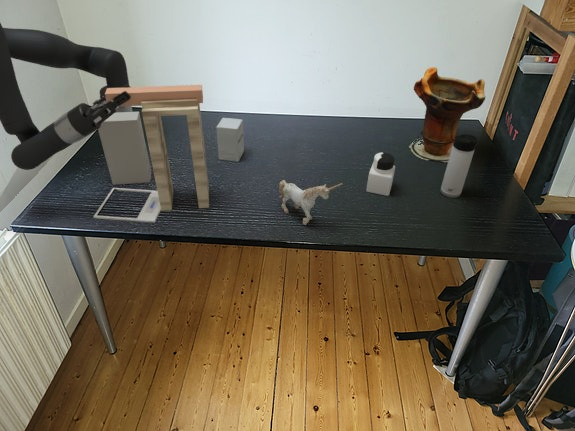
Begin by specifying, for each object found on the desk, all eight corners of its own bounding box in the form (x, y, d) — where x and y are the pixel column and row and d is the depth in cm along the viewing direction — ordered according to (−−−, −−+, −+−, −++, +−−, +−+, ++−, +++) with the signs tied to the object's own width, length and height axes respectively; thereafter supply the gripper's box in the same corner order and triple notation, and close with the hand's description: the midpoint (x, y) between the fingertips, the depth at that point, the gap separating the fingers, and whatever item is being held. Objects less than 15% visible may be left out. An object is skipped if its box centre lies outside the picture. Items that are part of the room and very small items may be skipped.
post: (115, 174, 150) (99, 113, 137) (151, 172, 152) (139, 111, 138) (112, 184, 146) (95, 121, 132) (149, 182, 148) (136, 120, 134)
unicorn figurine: (328, 235, 129) (331, 197, 121) (268, 213, 136) (267, 176, 128) (338, 221, 134) (342, 183, 125) (280, 201, 141) (280, 164, 133)
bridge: (163, 191, 144) (144, 89, 123) (208, 188, 145) (197, 87, 124) (161, 210, 136) (140, 106, 115) (209, 207, 138) (197, 103, 117)
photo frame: (154, 220, 132) (93, 216, 133) (154, 223, 132) (94, 219, 133) (169, 191, 143) (112, 187, 144) (169, 193, 144) (113, 190, 145)
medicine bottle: (392, 184, 149) (398, 152, 141) (388, 196, 144) (394, 164, 136) (370, 179, 151) (375, 148, 143) (366, 191, 145) (370, 159, 138)
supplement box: (239, 162, 158) (237, 129, 150) (218, 159, 159) (215, 126, 151) (244, 151, 163) (243, 119, 155) (224, 149, 164) (222, 116, 156)
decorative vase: (470, 170, 155) (490, 91, 138) (401, 160, 162) (412, 84, 145) (471, 141, 171) (489, 67, 154) (408, 133, 177) (419, 61, 160)
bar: (110, 100, 120) (107, 88, 118) (203, 97, 123) (201, 84, 121) (108, 106, 117) (104, 93, 115) (202, 102, 120) (201, 90, 118)
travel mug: (450, 200, 142) (467, 144, 130) (436, 189, 147) (451, 134, 134) (465, 195, 145) (483, 139, 132) (450, 184, 149) (467, 129, 137)
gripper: (59, 126, 113) (114, 90, 110) (72, 101, 124) (123, 68, 121) (82, 148, 118) (136, 114, 114) (93, 122, 129) (142, 91, 125)
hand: (129, 91), depth 117 cm, fingers closed on bar, 3 cm apart
